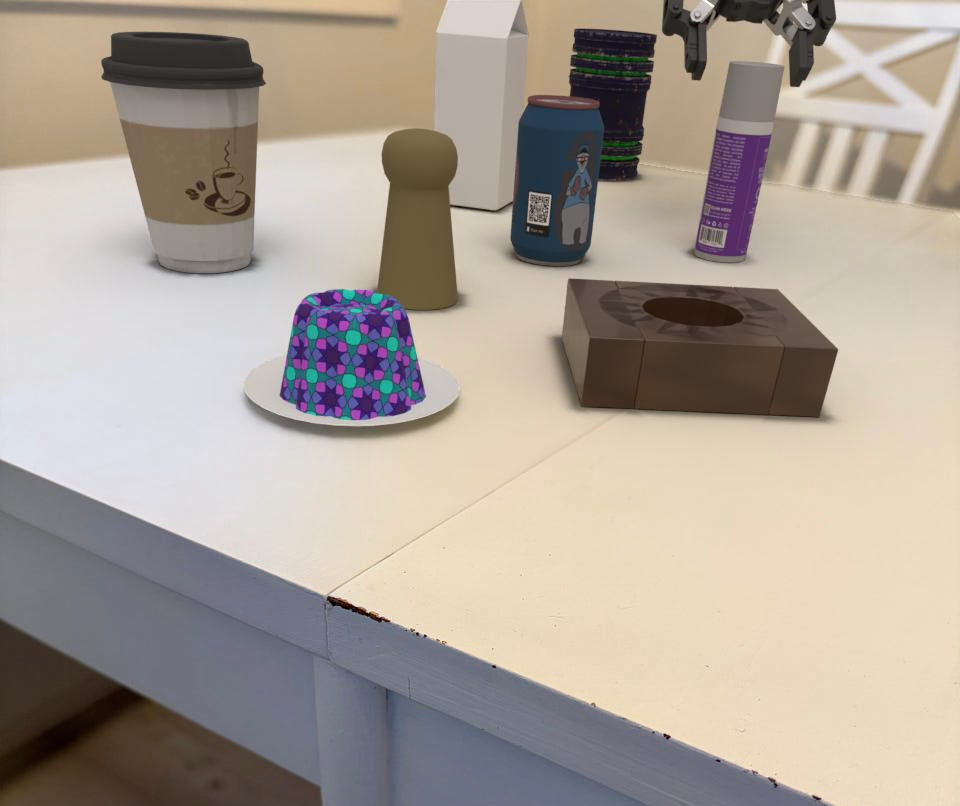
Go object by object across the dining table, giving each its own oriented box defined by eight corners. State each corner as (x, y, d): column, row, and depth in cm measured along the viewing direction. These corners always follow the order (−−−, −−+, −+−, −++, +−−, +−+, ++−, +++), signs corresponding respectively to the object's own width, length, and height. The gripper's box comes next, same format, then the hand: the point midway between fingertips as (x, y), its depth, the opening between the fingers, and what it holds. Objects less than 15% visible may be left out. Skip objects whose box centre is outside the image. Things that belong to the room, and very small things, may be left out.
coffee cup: (183, 289, 68) (152, 44, 59) (101, 256, 74) (62, 29, 65) (307, 266, 75) (296, 44, 66) (223, 237, 81) (202, 30, 72)
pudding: (480, 375, 57) (485, 286, 54) (427, 453, 47) (429, 351, 44) (294, 349, 59) (289, 262, 56) (206, 420, 49) (194, 319, 46)
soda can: (528, 244, 85) (540, 91, 78) (600, 256, 83) (619, 100, 76) (495, 259, 80) (506, 97, 73) (571, 272, 78) (589, 107, 71)
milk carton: (496, 212, 95) (510, -15, 84) (431, 203, 97) (436, -21, 86) (516, 200, 101) (532, -15, 90) (454, 192, 103) (462, -20, 91)
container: (753, 263, 84) (796, 68, 75) (704, 262, 83) (741, 65, 74) (733, 249, 88) (771, 62, 79) (686, 249, 87) (719, 59, 78)
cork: (467, 308, 68) (475, 138, 62) (385, 311, 66) (385, 136, 60) (446, 285, 73) (451, 124, 66) (369, 287, 71) (367, 122, 65)
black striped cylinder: (544, 171, 116) (557, 28, 108) (583, 163, 123) (598, 28, 114) (615, 184, 112) (634, 36, 103) (651, 175, 119) (672, 35, 110)
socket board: (764, 349, 64) (778, 288, 62) (819, 417, 54) (839, 349, 52) (561, 339, 63) (568, 277, 61) (581, 406, 54) (589, 337, 51)
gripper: (675, -138, 77) (677, 35, 75) (844, -125, 78) (852, 47, 75) (653, -56, 85) (655, 104, 82) (808, -46, 85) (814, 114, 83)
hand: (749, 76), depth 79 cm, fingers open, 8 cm apart
